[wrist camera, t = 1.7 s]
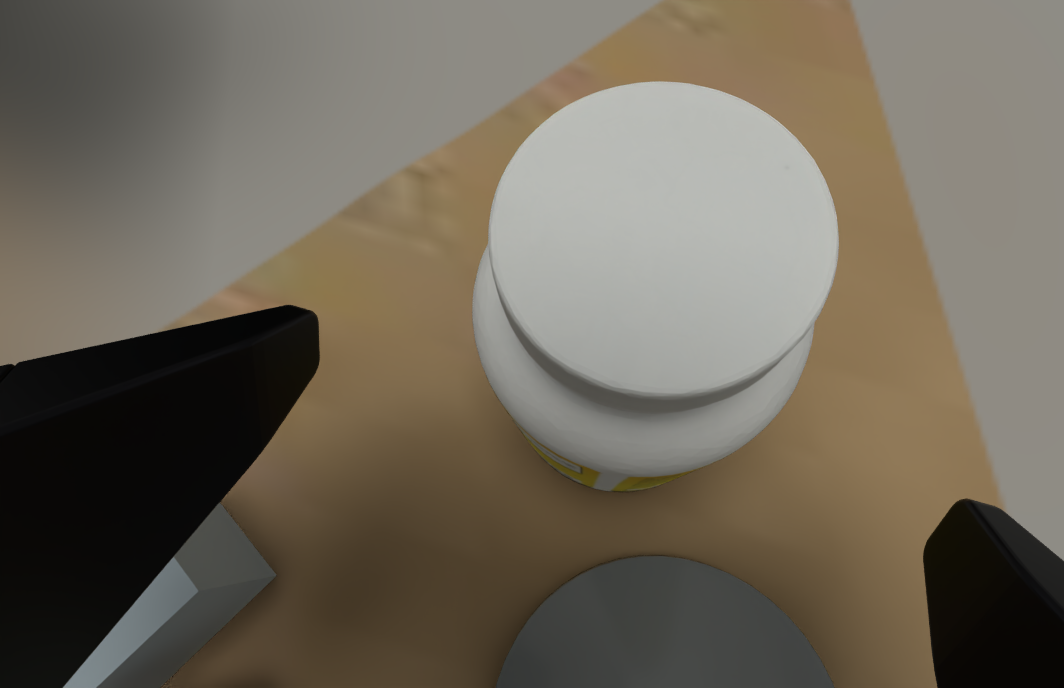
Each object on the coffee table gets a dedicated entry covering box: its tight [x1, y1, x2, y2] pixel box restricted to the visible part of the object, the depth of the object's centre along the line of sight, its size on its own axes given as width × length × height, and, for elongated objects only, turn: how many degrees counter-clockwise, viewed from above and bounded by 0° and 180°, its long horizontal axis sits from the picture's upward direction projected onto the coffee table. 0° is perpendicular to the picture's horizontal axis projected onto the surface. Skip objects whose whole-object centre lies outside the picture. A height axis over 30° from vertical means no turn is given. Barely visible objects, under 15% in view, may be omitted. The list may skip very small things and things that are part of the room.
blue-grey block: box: [63, 503, 277, 688], centre depth 16 cm, size 6×3×4 cm, turn 134°
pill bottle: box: [472, 82, 839, 492], centre depth 13 cm, size 6×6×11 cm
